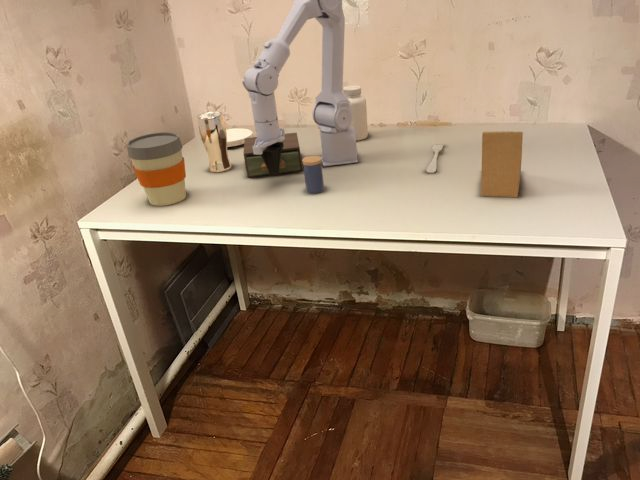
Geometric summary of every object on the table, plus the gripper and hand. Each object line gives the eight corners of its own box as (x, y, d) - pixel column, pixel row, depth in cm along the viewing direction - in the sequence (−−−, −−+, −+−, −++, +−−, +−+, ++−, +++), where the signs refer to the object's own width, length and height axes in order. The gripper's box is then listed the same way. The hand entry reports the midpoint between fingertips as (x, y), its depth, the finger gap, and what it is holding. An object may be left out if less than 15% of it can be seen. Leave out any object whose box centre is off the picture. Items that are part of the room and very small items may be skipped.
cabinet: (302, 170, 155) (299, 147, 152) (247, 177, 154) (243, 153, 150) (299, 154, 167) (296, 132, 163) (248, 160, 165) (244, 138, 162)
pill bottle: (368, 140, 173) (365, 89, 166) (341, 142, 174) (337, 91, 166) (368, 132, 180) (365, 83, 173) (342, 134, 181) (338, 85, 173)
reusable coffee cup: (152, 190, 150) (136, 133, 143) (199, 187, 150) (186, 130, 142) (134, 210, 140) (116, 150, 132) (185, 207, 139) (170, 146, 131)
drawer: (301, 175, 149) (298, 157, 147) (249, 181, 148) (245, 163, 146) (297, 155, 164) (295, 138, 161) (250, 160, 162) (247, 144, 160)
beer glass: (227, 173, 158) (216, 118, 150) (203, 172, 159) (192, 118, 152) (237, 164, 163) (227, 111, 156) (214, 164, 165) (203, 111, 157)
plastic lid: (216, 153, 173) (215, 145, 172) (203, 142, 184) (201, 134, 182) (260, 143, 179) (259, 135, 177) (244, 133, 189) (243, 125, 188)
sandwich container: (520, 172, 143) (524, 111, 135) (518, 197, 130) (523, 131, 122) (484, 171, 145) (486, 111, 137) (479, 196, 132) (482, 131, 125)
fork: (425, 181, 148) (425, 171, 147) (435, 146, 164) (434, 137, 163) (436, 181, 148) (436, 171, 146) (445, 146, 164) (445, 137, 162)
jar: (323, 185, 145) (320, 154, 141) (325, 192, 141) (322, 161, 137) (305, 187, 144) (301, 157, 140) (306, 194, 140) (302, 163, 136)
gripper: (268, 128, 133) (277, 184, 139) (292, 111, 145) (299, 163, 151) (241, 128, 135) (250, 182, 141) (266, 111, 147) (274, 162, 153)
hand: (274, 172), depth 147 cm, fingers closed
